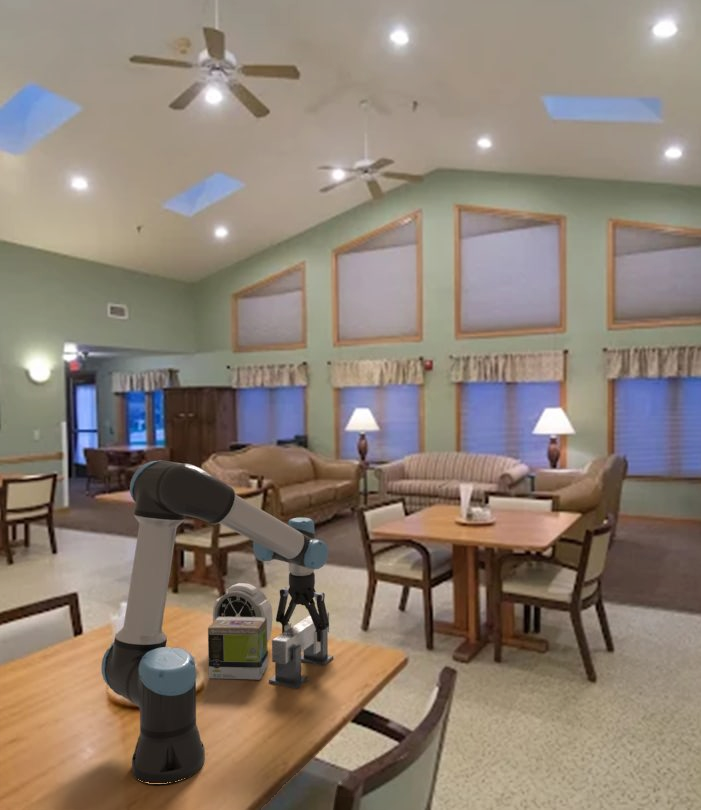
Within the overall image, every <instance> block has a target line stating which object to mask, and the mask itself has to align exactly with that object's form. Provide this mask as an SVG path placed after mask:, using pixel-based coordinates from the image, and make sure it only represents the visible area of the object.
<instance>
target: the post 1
mask: <svg viewBox="0 0 701 810" xmlns="http://www.w3.org/2000/svg"><path fill="white" fill-rule="evenodd" d="M301 655H302V652H301V645H297V646H296V647H295V648H293V659H292V660H290V661H289V662H288V663H286V664H285V665H284V664H280V663H275V662H274V665H275V666H274V668H275V669H274V672H275V674H274V675H273V676H271V677H270V678H269V679H268V683H269V684H274V685H278V686H283V687H287V688H291V689H297V690H298V688H300V687H301V686H302V685H304V683H306V682H307V681H308V680H309V677H308V676H305V675H302V661H301Z"/></svg>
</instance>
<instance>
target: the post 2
mask: <svg viewBox="0 0 701 810" xmlns="http://www.w3.org/2000/svg"><path fill="white" fill-rule="evenodd" d="M328 633H329V632H328ZM328 633H327V628H326V629H325V630H323V640H322V641H321V642H320V646H321V651H319V652H318V653H317V654H314V643H313V644H312V645H310V646H309V647H308V648H306V649H305V650H304V651H303V654H302V653H301V663H302V662H303V663H307V664H308V663H309V664H314V665H319V666H323V667H324V666H326V665H327V664H328V663H330V662H331V661H332V660H333V659H334V654H333V655H332V654H329V653H328V651H329V648H328V643H329V642H328V639H329V638H328V636H329V635H328Z"/></svg>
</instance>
